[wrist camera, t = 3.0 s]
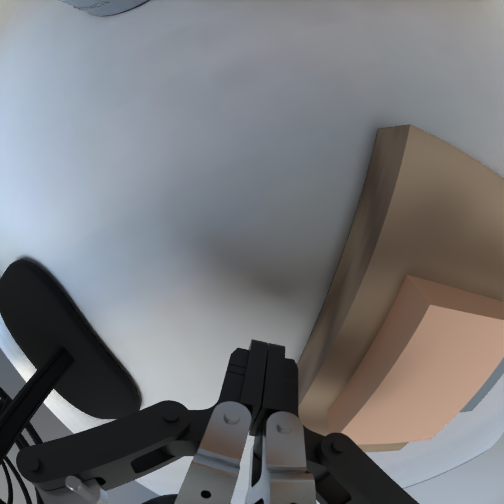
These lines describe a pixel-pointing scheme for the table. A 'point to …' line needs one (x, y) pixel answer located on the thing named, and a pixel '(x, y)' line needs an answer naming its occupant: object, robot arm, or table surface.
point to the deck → (402, 255)
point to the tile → (421, 365)
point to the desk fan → (53, 362)
